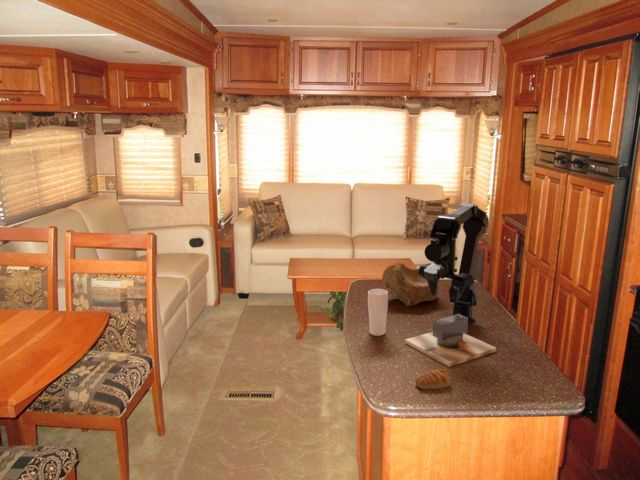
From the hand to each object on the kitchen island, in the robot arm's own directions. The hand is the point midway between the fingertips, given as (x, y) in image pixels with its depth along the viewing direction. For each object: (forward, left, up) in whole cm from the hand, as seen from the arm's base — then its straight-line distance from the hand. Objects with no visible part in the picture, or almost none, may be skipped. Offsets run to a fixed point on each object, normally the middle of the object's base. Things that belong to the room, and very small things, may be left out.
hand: (444, 299), depth 176 cm
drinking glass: (+18, -12, -13) cm, 26 cm away
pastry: (+26, +24, -13) cm, 37 cm away
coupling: (+5, +10, -11) cm, 16 cm away
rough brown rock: (-13, -30, -13) cm, 36 cm away
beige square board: (+5, +9, -13) cm, 16 cm away
